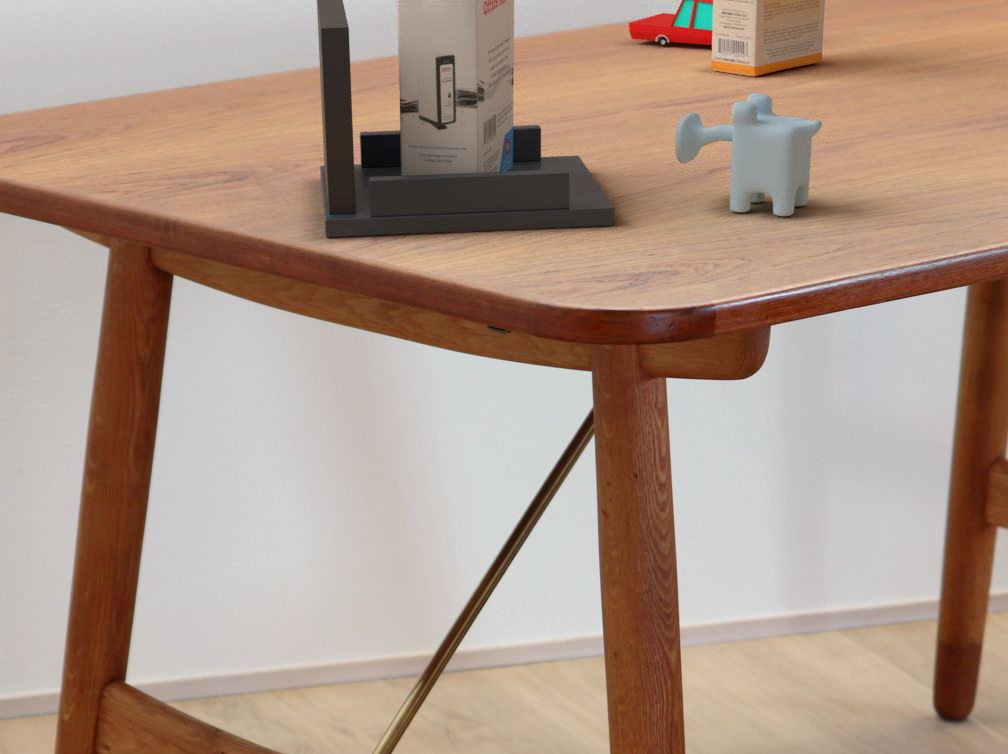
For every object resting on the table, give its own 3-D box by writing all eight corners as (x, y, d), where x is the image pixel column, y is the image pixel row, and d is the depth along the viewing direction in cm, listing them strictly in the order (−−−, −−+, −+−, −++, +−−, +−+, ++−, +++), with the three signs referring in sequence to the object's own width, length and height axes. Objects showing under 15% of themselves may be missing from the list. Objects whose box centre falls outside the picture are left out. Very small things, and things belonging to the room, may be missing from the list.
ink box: (438, 167, 117) (433, -36, 112) (518, 170, 115) (517, -35, 110) (397, 200, 109) (391, -16, 104) (482, 204, 108) (479, -15, 103)
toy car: (663, 33, 168) (665, -15, 166) (791, 42, 162) (793, -8, 160) (627, 44, 163) (628, -6, 162) (757, 54, 157) (759, 2, 155)
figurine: (693, 193, 113) (697, 87, 111) (826, 204, 110) (833, 95, 107) (668, 208, 110) (672, 99, 107) (805, 220, 106) (811, 108, 104)
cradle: (614, 225, 107) (618, 20, 102) (325, 237, 106) (316, 31, 101) (578, 171, 119) (580, -14, 115) (320, 181, 119) (312, -4, 114)
